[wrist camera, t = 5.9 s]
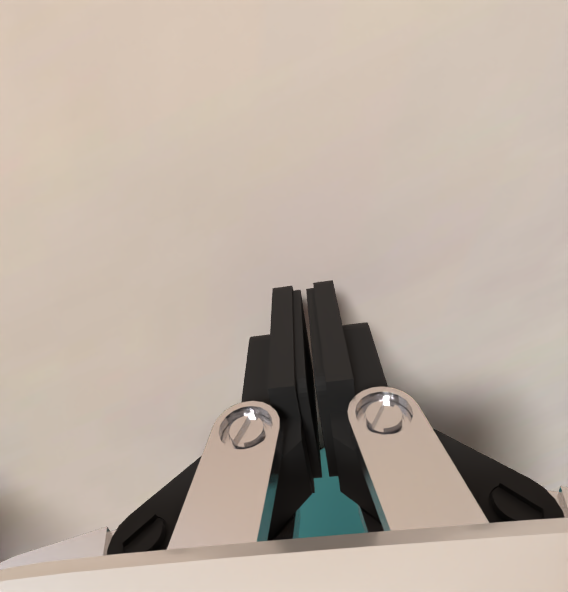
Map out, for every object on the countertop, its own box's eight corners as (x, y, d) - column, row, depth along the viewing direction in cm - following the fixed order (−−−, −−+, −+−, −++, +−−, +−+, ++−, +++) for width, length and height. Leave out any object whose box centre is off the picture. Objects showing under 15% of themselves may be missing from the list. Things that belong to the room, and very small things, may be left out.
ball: (312, 666, 14) (301, 493, 19) (488, 649, 13) (432, 469, 18) (246, 634, 11) (253, 428, 15) (484, 607, 9) (414, 392, 14)
